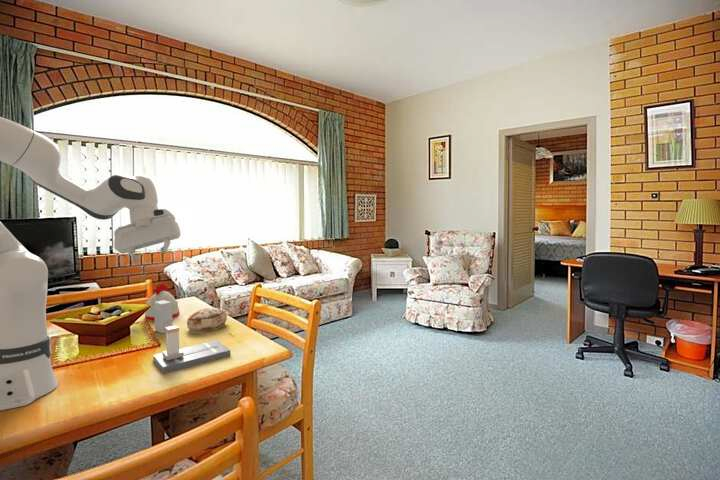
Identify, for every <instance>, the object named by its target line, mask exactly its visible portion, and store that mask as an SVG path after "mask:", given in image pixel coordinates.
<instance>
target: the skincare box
mask: <svg viewBox="0 0 720 480" xmlns="http://www.w3.org/2000/svg"><path fill="white" fill-rule="evenodd" d="M154 316H155V321H154V332H155V331H156V332H157V333H161V334H166V331H165V327H170V326H173V318H172V302H169V301H165V300H162V301H157V302H154Z"/></svg>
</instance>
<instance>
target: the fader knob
mask: <svg viewBox="0 0 720 480" xmlns="http://www.w3.org/2000/svg"><path fill="white" fill-rule="evenodd" d="M165 331H166V333H165V337H166V338H165V339H166V340H165V342H166V345H165V346H166V350H162V352H161V353H163V357H164V358H165V359H166V360H171V359H175V358H179V357H183V356H184V352H183V351H182V350H181V348H180V327H179V326H178V325H172V326H170V327H165Z"/></svg>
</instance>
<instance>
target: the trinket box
mask: <svg viewBox="0 0 720 480" xmlns="http://www.w3.org/2000/svg"><path fill="white" fill-rule="evenodd" d="M227 318H228V315H227V313H226V311H224V309H222V308H217V307H209V308H202V309H199V310H198V311H195V312H193V313H192V314H191V315H190V316H189V317H188V318H187V321H186V326H187V327H186V328H187V329H188V330H189V332H190V333H193V334H196V333H197V334H199V333H205V332H211V331H215V330H218V329H220V328H222V327H224V326H225V325H226V322H227Z"/></svg>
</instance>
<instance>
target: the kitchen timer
mask: <svg viewBox="0 0 720 480" xmlns="http://www.w3.org/2000/svg"><path fill="white" fill-rule="evenodd" d="M168 290H169V287H168V286H167V285H166V284H164V283H161V284H159V285H156V287H155V288H153V291H154V294H153V295H151V296H150V298H149V300H147V301H146V303H145V306H146V305H151V307H150V308H149V309H148V310H147V311H146V312H145V311H144V319H145V320H147V321H152V322H155V316H154V302H157V301H162V300H165V301H169V302H172V319H175V318H177V317H179V316H180V308H179V307H180V306H179V305H178V301H177V300H176V298H175V297H174V295H172V294H171V292H168Z"/></svg>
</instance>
